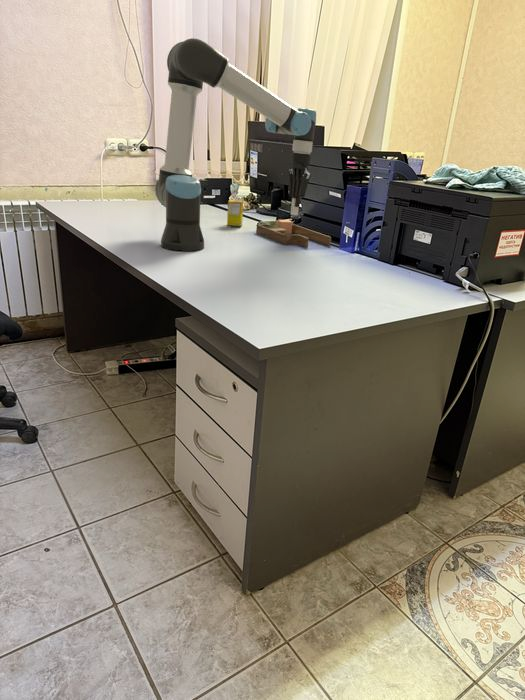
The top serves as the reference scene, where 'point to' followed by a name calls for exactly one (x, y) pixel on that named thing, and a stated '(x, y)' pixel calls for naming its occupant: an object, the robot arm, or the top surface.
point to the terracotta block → (285, 225)
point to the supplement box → (235, 213)
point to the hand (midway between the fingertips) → (294, 214)
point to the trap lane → (300, 236)
